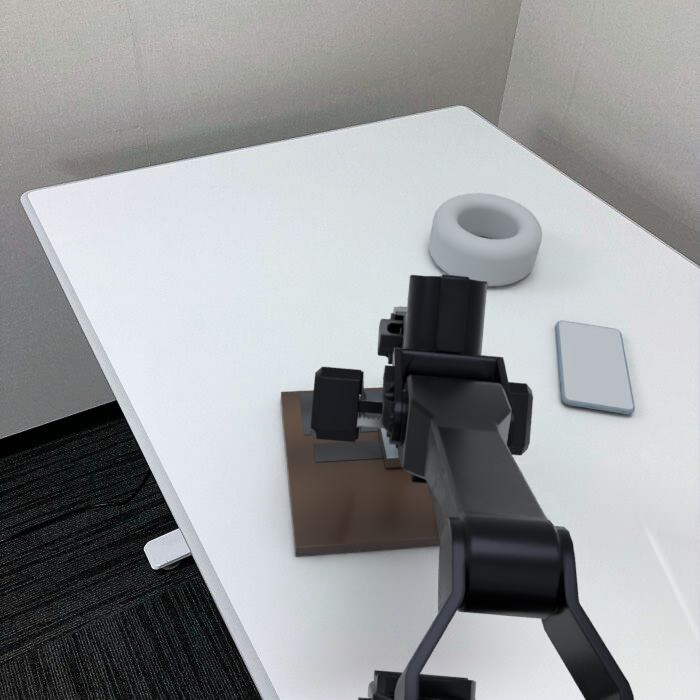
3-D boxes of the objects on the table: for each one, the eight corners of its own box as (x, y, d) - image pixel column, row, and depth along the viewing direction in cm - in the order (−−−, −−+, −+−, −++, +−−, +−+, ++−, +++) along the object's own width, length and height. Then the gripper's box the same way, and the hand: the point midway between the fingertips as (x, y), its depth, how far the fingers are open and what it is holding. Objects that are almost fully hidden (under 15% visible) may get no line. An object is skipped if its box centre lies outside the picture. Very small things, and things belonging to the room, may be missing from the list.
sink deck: (501, 541, 75) (504, 532, 74) (295, 557, 72) (295, 547, 71) (453, 392, 89) (456, 383, 88) (280, 400, 86) (280, 390, 85)
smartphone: (621, 328, 99) (636, 412, 88) (619, 334, 100) (634, 417, 88) (556, 318, 99) (563, 400, 88) (554, 324, 100) (560, 406, 89)
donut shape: (524, 301, 103) (536, 261, 98) (415, 273, 106) (422, 233, 101) (540, 242, 114) (551, 203, 109) (441, 218, 116) (448, 179, 112)
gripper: (559, 320, 60) (512, 332, 76) (319, 300, 60) (322, 316, 75) (548, 464, 60) (503, 446, 75) (307, 445, 59) (312, 430, 75)
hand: (410, 406), depth 75 cm, fingers open, 9 cm apart
